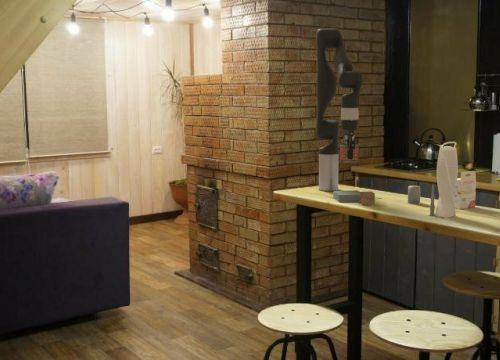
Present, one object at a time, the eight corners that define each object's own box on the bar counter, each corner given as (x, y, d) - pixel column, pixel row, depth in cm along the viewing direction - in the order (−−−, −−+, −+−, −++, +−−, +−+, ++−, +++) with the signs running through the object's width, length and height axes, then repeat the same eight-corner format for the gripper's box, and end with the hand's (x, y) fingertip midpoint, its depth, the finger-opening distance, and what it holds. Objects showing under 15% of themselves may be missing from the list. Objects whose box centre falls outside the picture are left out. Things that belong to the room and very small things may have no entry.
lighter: (358, 161, 266) (358, 138, 265) (358, 162, 263) (359, 139, 261) (339, 161, 267) (339, 138, 265) (339, 162, 263) (340, 139, 262)
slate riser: (333, 197, 272) (333, 190, 272) (357, 196, 273) (357, 190, 272) (338, 201, 261) (338, 194, 261) (364, 201, 262) (364, 194, 262)
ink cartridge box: (465, 205, 251) (467, 169, 248) (475, 207, 246) (477, 170, 244) (450, 207, 247) (451, 171, 245) (459, 209, 242) (461, 172, 240)
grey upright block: (406, 202, 259) (406, 185, 258) (417, 201, 260) (418, 185, 259) (410, 204, 254) (410, 187, 253) (421, 203, 255) (422, 187, 254)
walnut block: (359, 203, 258) (359, 191, 257) (371, 203, 258) (371, 191, 257) (362, 205, 253) (362, 193, 252) (374, 205, 253) (374, 193, 253)
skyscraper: (443, 213, 235) (445, 140, 231) (460, 217, 229) (463, 142, 225) (428, 216, 231) (430, 142, 227) (446, 219, 224) (448, 143, 220)
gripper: (337, 117, 269) (336, 156, 271) (344, 119, 255) (344, 160, 257) (354, 117, 269) (353, 156, 272) (362, 119, 255) (361, 160, 258)
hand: (349, 158), depth 265 cm, fingers closed on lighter, 3 cm apart
